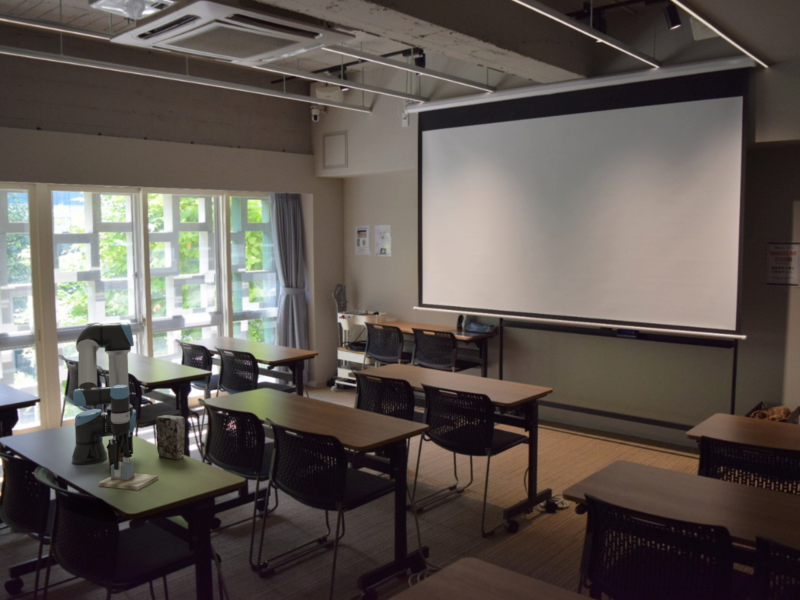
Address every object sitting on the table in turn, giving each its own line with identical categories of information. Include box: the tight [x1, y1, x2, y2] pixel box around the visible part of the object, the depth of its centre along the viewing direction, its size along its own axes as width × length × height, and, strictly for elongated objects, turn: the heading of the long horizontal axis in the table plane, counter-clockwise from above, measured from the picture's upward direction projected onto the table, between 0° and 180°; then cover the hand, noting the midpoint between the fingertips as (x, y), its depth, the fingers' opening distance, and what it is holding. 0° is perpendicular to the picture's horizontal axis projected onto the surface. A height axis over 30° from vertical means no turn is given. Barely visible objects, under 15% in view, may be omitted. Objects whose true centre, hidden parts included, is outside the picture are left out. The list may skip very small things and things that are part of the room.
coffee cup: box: [105, 442, 124, 472], centre depth 304 cm, size 9×8×13 cm
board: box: [98, 472, 159, 491], centre depth 288 cm, size 19×14×2 cm
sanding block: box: [110, 462, 135, 481], centre depth 289 cm, size 8×5×6 cm, turn 77°
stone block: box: [155, 414, 186, 460], centre depth 322 cm, size 13×7×20 cm, turn 74°
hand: (122, 474), depth 289 cm, fingers closed on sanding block, 5 cm apart
